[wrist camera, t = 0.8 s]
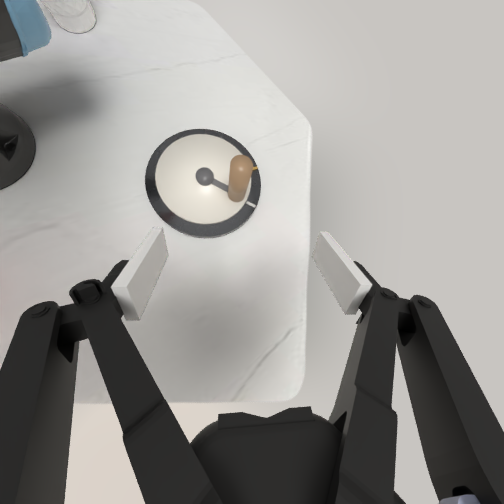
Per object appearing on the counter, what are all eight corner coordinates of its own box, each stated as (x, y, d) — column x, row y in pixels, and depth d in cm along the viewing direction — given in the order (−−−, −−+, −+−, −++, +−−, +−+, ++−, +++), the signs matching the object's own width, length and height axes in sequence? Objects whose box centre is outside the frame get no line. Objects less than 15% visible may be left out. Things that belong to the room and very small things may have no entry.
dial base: (124, 168, 34) (119, 163, 33) (218, 117, 38) (218, 109, 37) (192, 260, 34) (191, 259, 33) (279, 199, 38) (282, 196, 37)
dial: (137, 166, 33) (102, 120, 23) (215, 123, 36) (213, 66, 26) (194, 242, 33) (182, 229, 23) (267, 192, 36) (284, 162, 26)
